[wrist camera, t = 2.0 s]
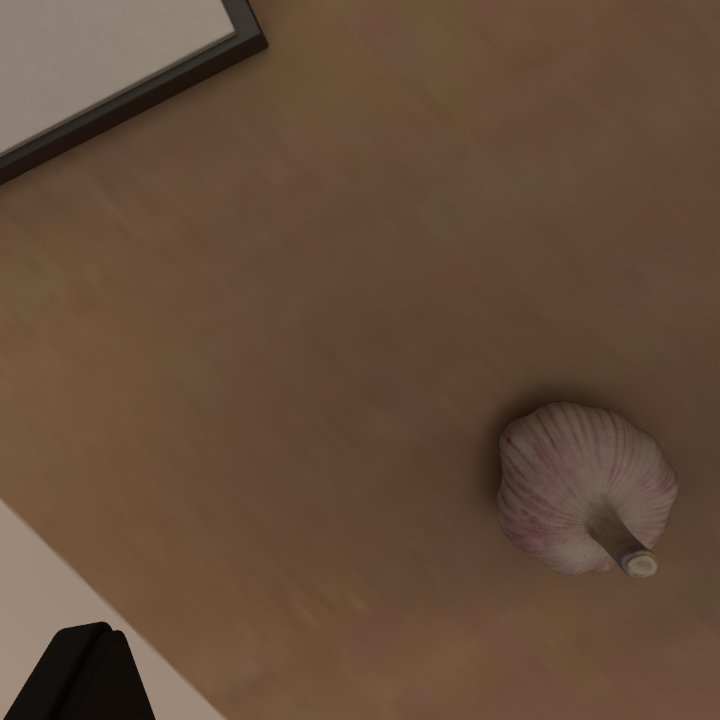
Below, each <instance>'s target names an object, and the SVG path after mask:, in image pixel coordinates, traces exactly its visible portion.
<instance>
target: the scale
mask: <svg viewBox="0 0 720 720" xmlns="http://www.w3.org/2000/svg"><path fill="white" fill-rule="evenodd" d="M268 46H269V45H268V42H267V40H266V38H265V36H264V34H263V32H262V29H261V27H260V25H259V23H258V21H257V19H256V16H255V14H254V12H253V10H252V8H251V6H250V4H249V1H248V0H0V185H1V184H3V183H5V182H7V181H9V180H11V179H13V178H15V177H17V176H19V175H21V174H23V173H25V172H26V171H28V170H30V169H32V168H34V167H36V166H38V165H40V164H42V163H44V162H46V161H48V160H50V159H52V158H54V157H56V156H58V155H59V154H61V153H63V152H65V151H67V150H69V149H71V148H73V147H75V146H77V145H79V144H81V143H83V142H85V141H87V140H89V139H91V138H92V137H94V136H96V135H98V134H100V133H102V132H104V131H106V130H108V129H110V128H112V127H114V126H116V125H118V124H120V123H122V122H123V121H125V120H127V119H129V118H131V117H133V116H135V115H137V114H139V113H141V112H143V111H145V110H147V109H149V108H151V107H153V106H155V105H156V104H158V103H160V102H162V101H164V100H166V99H168V98H170V97H172V96H174V95H176V94H178V93H180V92H182V91H184V90H186V89H188V88H189V87H191V86H193V85H195V84H197V83H199V82H201V81H203V80H205V79H207V78H209V77H211V76H213V75H215V74H217V73H219V72H221V71H222V70H224V69H226V68H228V67H230V66H232V65H234V64H236V63H238V62H240V61H242V60H244V59H246V58H248V57H250V56H252V55H253V54H255V53H257V52H259V51H261V50H263V49H265V48H267V47H268Z"/></svg>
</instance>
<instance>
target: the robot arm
mask: <svg viewBox="0 0 720 720" xmlns="http://www.w3.org/2000/svg"><path fill="white" fill-rule="evenodd" d="M3 720H155V717H154V714H153V711H152V709H151V706H150V703H149V700H148V697H147V694H146V692H145V689H144V686H143V683H142V681H141V678H140V675H139V672H138V670H137V667H136V664H135V661H134V659H133V656H132V653H131V650H130V647H129V645H128V642H127V639H126V637H125V635H124V634H123V632H122V631H119V630H116V631H113V630H112V628H111V626H110V625H109V624H108V623H106V622H97V623H91V624H86V625H80V626H75V627H69V628H64V629H62V630H60V631H58V632H57V633H56V635H55V636H54V637H53V639H52V641H51V642H50V644H49V645H48V647H47V649H46V650H45V652H44V654H43V655H42V657H41V659H40V660H39V662H38V663H37V665H36V667H35V668H34V670H33V672H32V673H31V675H30V677H29V678H28V680H27V681H26V683H25V685H24V687H23V688H22V690H21V691H20V693H19V695H18V696H17V698H16V700H15V701H14V703H13V705H12V706H11V708H10V709H9V711H8V713H7V714H6V716H5V718H4V719H3Z"/></svg>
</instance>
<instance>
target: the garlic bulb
mask: <svg viewBox="0 0 720 720" xmlns="http://www.w3.org/2000/svg"><path fill="white" fill-rule="evenodd" d="M498 447H499V453H500V457H501V460H502V474H503V477H502V483H501V486H500V489H499V491H498V494H497V497H496V514H497V518H498V522H499V524H500V526H501V528H502V530H503V532H504V533H505V535H506V536H507V537H508V538H509V540H510V541H511V542H512V543H513V544H514V545H515V546H517V547H518V548H520V549H521V550H523V551H525V552H527V553H530V554H532V555H533V556H535V557H536V558H538V559H539V560H540V561H541V562H542V563H543V564H544V565H545V566H546V567H548V568H549V569H551V570H552V571H554V572H556V573H558V574H562V575H566V576H574V575H579V574H582V573H585V572H603V571H607V570H610V569H612V568H614V567H616V566H618V565H619V566H620V567H621V569H622V570H623V571H624V572H625V573H627V574H628V575H631V576H633V577H637V578H642V577H646V576H652V575H653V574H654V573H657V570H658V567H659V562H658V560H657V558H656V556H655V555H654V553H653V552H652V551H651V548H652V547H653V546H654V545H655V544H656V543H657V542H658V541H659V540H660V538H661V537H662V535H663V534H664V532H665V530H666V527H667V524H668V515H669V512H670V509H671V507H672V505H673V503H674V502H675V501H676V499H677V497H678V494H679V483H678V478H677V474H676V471H675V470H674V468H673V467H672V465H671V464H670V463H669V462H668V460H667V459H666V458H665V454H664V452H663V450H662V448H661V446H660V445H659V443H658V442H657V441H656V440H655V439H654V438H653V437H652V436H651V435H649V434H648V433H647V432H645V431H643V430H641V429H638V428H635V427H633V426H632V425H631V424H630V423H629V422H628V421H627V420H626V419H625V418H624V417H623V416H621V415H620V414H618V413H616V412H614V411H612V410H609V409H604V408H598V407H595V408H589V407H585V406H582V405H579V404H577V403H574V402H569V401H557V402H552V403H549V404H546V405H544V406H542V407H540V408H539V409H537V410H536V411H534V412H533V413H532V414H530V415H528V416H525V417H521V418H518V419H516V420H514V421H512V422H511V423H510V424H508V425H507V427H506V428H505V429H504V430H503V432H502V435H501V437H500V440H499V446H498Z"/></svg>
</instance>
